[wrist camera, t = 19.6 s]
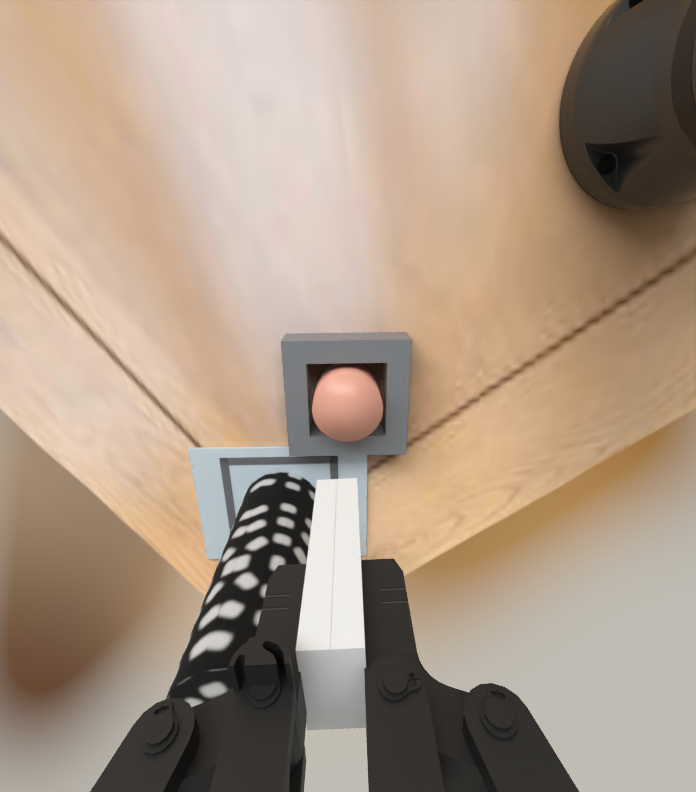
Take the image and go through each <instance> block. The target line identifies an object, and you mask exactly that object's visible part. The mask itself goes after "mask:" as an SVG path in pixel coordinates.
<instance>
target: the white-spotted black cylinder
mask: <svg viewBox="0 0 696 792" xmlns="http://www.w3.org/2000/svg"><path fill="white" fill-rule="evenodd" d="M315 492H316V488H315V487H314V486H313V485H312V484H311V483H310V482H309V481H307V480H306V479H304V478H303V477H300V476H298V475H296V474H291V473H285V472H277V473H270V474H267V475H264V476H262V477H260V478H258V479H257V480H256V481H254V482H253V483H252V484H251V485H250V486H249V488H248V489H247V491H246V493H245V496H244V498H243V501H242V504H241V506H240V509H239V511H238V514H237V517H236V519H235V522H234V524H233V527H232V529H231V532H230V535H229V537H228V540H227V542H226V545H225V548H224V550H223V553H222V555H221V558H220V561H219V563H218V566H217V568H216V571H215V573H214V576H213V579H212V581H211V584H210V586H209V589H208V592H207V594H206V597H205V599H204V602H203V604H202V607H201V610H200V612H199V615H198V617H197V620H196V623H195V625H194V628H193V631H192V633H191V636H190V638H189V641H188V643H187V646H186V649H185V651H184V654H183V656H182V659H181V661H180V664H179V667H178V669H177V672H176V674H175V677H174V679H173V682H172V685H171V687H170V690H169V693H168V695H167V698H166V699H169V698H181V699H183V700H185V701H186V702H188V703H190V705H191V707H193V706H196V705H198V704H201V703H204V702H206V701H209V700H211V699H214V698H216V697H218V696H220V695H222V694H224V693H226V692H227V691H228V690H230V689H231V688H232V687H233V685H232V681H231V677H230V673H229V669H228V665H229V663H230V661H231V659H232V656H233V654H234V653H235V652H236V651H237V650H238V649H239V648H240V647H241V646H242V645H243V644H244V643H246V642H248V641H250V640H251V639H253V638H255V635H256V631H257V627H258V622H259V618H260V614H261V611H262V605H263V601H264V598H265V592H266V588H267V584H268V580H269V578H270V576H271V575H272V574H273V572H274V571H275V569H276V568H277V567H278V565H293V564H307V556H308V548H309V540H310V532H311V524H312V516H313V508H314V500H315Z"/></svg>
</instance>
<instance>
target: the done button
mask: <svg viewBox="0 0 696 792" xmlns="http://www.w3.org/2000/svg"><path fill="white" fill-rule="evenodd" d="M312 414H313V418H314V421H315V423H316V425H317V427H318V428H319V429H320V430H321V431H322V432H323V433H324V434H325V435H327V436H328V437H330V438H332V439H335V440H338V441H343V442H351V441H357V440H360V439H363V438H365V437H366V436H368V435H370V434H371V433H372V432H373V431H374V430H375V429H376V428H377V426H378V425H379V423H380V421H381V418H382V415H383V403H382V399H381V395H380V391H379V388H378V384H377V381H376V378H375V377H374V375H373V374H372V372H371V371H370V370H369V369H368V368H366V367H365V366H363V365H361V364H359V363H338V364H332V365H330V366H329V367H327V368H326V369H325V370H324V371H323V372H322V373H321V375H320V376H319V378H318V380H317V383H316V387H315V393H314V398H313V404H312Z"/></svg>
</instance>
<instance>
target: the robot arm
mask: <svg viewBox="0 0 696 792" xmlns="http://www.w3.org/2000/svg"><path fill="white" fill-rule="evenodd" d="M560 135H561V143H562V148H563V152H564V155H565V159H566V161H567V164H568V166H569V168H570V170H571V172H572V174H573V176H574V178H575V179H576V180H577V182H578V183H579V184H580V186H581V187H582V188H583V189H584V190H585V191H586V192H587V193H588V194H590V195H591V196H592V197H593V198H595V199H596V200H598V201H600V202H602V203H604V204H606V205H608V206H611V207H614V208H618V209H624V210H645V209H653V208H660V207H667V206H672V205H676V204H679V203H683V202H685V201H688V200H691V199H694V198H696V0H616V1H615V2H614V3H612V4H611V5H610V6H609V7H608V8H607V10H606V11H605V12H604V13H603V14H602V15H601V16H600V17H599V19H598V20H597V21H596V22H595V24H594V25H593V26H592V28H591V29H590V31H589V32H588V34H587V35H586V37H585V39H584V40H583V42H582V44H581V45H580V47H579V49H578V51H577V53H576V55H575V58H574V60H573V62H572V64H571V67H570V70H569V73H568V76H567V79H566V82H565V86H564V90H563V95H562V101H561V109H560ZM228 669H229V673H230V677H231V681H232V685H233V687H232V688H231V689H230V690H228V691H227V692H226V693H224V694H222V695H220V696H218V697H216V698H214V699H211V700H209V701H206V702H204V703H201V704H198V705H196V706H193V707H191V705H190V703H188V702H186V701H185V700H183V699H181V698H169V699H166V700H164V701H161V702H158V703H156V704H155V705H153V706H152V707H151V708H149V709H148V710H147V711H145V712H144V713H143V714H142V715H141V717H140V718H139V719H138V720H137V721H136V723H135V724H134V725H133V727H132V728H131V730H130V731H129V733H128V734H127V736H126V737H125V739H124V740H123V742H122V743H121V745H120V747H119V748H118V750H117V751H116V753H115V754H114V756H113V757H112V759H111V760H110V762H109V764H108V765H107V767H106V768H105V770H104V772H103V773H102V775H101V776H100V777H99V779H98V780H97V782H96V784H95V785H94V787H93V788H92V790H91V791H90V792H304V781H305V768H306V756H305V746H304V740H305V728H306V723H307V729H308V730H319V729H344V728H366V731H367V756H368V783H369V792H579V791H578V789H577V788H576V786H575V784H574V783H573V781H572V779H571V778H570V776H569V774H568V773H567V771H566V770H565V768H564V767H563V765H562V763H561V761H560V760H559V758H558V757H557V755H556V753H555V752H554V750H553V749H552V747H551V745H550V744H549V742H548V740H547V739H546V737H545V736H544V734H543V732H542V731H541V729H540V728H539V726H538V724H537V723H536V721H535V719H534V718H533V716H532V715H531V713H530V711H529V710H528V708H527V707H526V706H525V704H524V703H523V702H522V701H521V700H520V698H519V697H518V696H517V695H516V694H514V693H513V692H511V691H510V690H508V689H507V688H505V687H503V686H499V685H496V684H492V683H490V684H480V685H478V686H477V687H475V688H473V689H472V690H471V691H470V692H469V693H468V692H465V691H462V690H459V689H455V688H452V687H449V686H447V685H444V684H442V683H440V682H438V681H437V680H435V679H434V678H433V677H431V676H430V675H429V674H428V673H427V671H426V670H425V669H424V668H423V666H422V664H421V662H420V661H419V657H418V654H417V651H416V644H415V638H414V633H413V627H412V621H411V616H410V610H409V605H408V598H407V592H406V587H405V581H404V575H403V571H402V570H401V568H400V567H399V565H398V564H397V563H396V561H395V560H394V559H376V560H362V559H361V539H360V521H359V503H358V486H357V478H346V479H327V480H317V484H316V492H315V500H314V508H313V516H312V524H311V532H310V540H309V548H308V556H307V564H293V565H278V567H277V568H276V569H275V571H274V572H273V574H272V575H271V576H270V578H269V580H268V584H267V588H266V592H265V598H264V601H263V605H262V611H261V614H260V618H259V622H258V627H257V631H256V635H255V638H253V639H251V640H250V641H248V642H246V643H244V644H243V645H242V646H241V647H240V648H239V649H238V650H237V651H236V652H235V653H234V654H233V656H232V659H231V661H230V663H229V665H228Z"/></svg>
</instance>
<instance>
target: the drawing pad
mask: <svg viewBox="0 0 696 792" xmlns="http://www.w3.org/2000/svg"><path fill="white" fill-rule="evenodd" d="M188 451H189V457H190V462H191V468H192V474H193V479H194V485H195V491H196V496H197V502H198V508H199V513H200V519H201V525H202V530H203V536H204V542H205V547H206V553H207V559H220V558H221V555H222V553H223V550H224V548H225V545H226V542H227V540H228V537H229V535H230V532H231V529H232V527H233V524H234V522H235V519H236V517H237V514H238V511H239V509H240V506H241V504H242V501H243V498H244V496H245V493H246V491H247V489H248V488H249V486H250V485H251V484H252V483H253V482H254V481H256V480H257V479H258V478H260V477H262V476H264V475H267V474H270V473H277V472H285V473H291V474H296V475H298V476H300V477H303V478H304V479H306V480H307V481H309V482H310V483H311V484H312V485H313V486H314V487H315V488H316V484H317V480H327V479H346V478H357V486H358V503H359V521H360V539H361V556H366V535H367V455H345V456H289V446H265V447H206V448H189V449H188Z"/></svg>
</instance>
